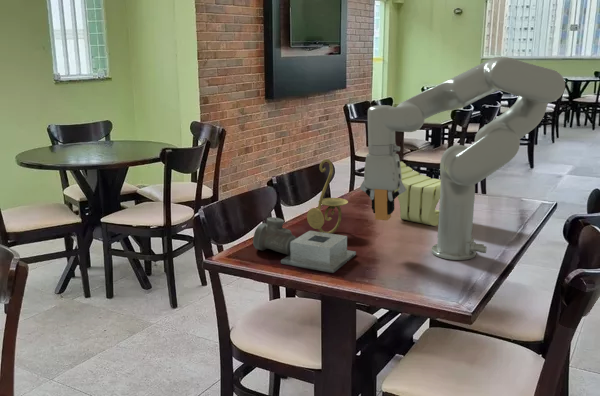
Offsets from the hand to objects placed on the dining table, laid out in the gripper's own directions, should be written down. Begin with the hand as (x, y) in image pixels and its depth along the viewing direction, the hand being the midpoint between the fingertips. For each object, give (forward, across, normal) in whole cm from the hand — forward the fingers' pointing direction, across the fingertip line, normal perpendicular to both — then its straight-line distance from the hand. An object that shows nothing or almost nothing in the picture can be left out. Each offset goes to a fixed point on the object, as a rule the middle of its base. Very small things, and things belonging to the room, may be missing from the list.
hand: (383, 212), depth 168 cm
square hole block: (+11, +15, +14) cm, 23 cm away
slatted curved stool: (+13, -1, -39) cm, 42 cm away
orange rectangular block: (+2, 0, 0) cm, 2 cm away
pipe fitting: (+11, +29, +14) cm, 34 cm away
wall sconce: (+12, +22, -8) cm, 26 cm away
